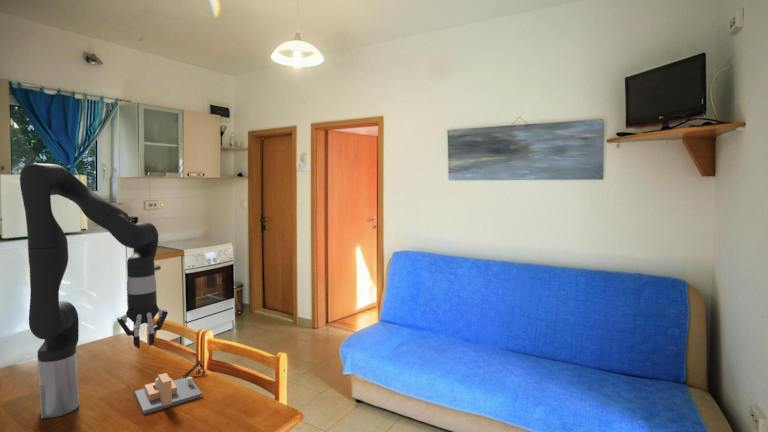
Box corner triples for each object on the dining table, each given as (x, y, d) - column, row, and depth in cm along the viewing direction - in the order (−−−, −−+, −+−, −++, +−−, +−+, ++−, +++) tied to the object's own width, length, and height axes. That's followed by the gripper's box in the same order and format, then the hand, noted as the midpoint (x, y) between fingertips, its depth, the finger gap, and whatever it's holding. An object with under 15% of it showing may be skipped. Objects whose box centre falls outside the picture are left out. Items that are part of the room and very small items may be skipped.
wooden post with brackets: (207, 367, 158) (202, 358, 156) (189, 384, 152) (184, 375, 150) (204, 366, 159) (199, 357, 157) (186, 382, 153) (181, 373, 151)
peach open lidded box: (144, 390, 139) (143, 368, 138) (171, 383, 144) (170, 362, 143) (153, 409, 128) (152, 385, 128) (181, 400, 133) (181, 377, 133)
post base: (143, 414, 128) (142, 395, 127) (134, 394, 140) (134, 377, 139) (202, 396, 139) (201, 379, 138) (189, 379, 150) (189, 363, 150)
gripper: (116, 296, 118) (118, 356, 120) (170, 288, 127) (172, 344, 129) (112, 290, 124) (115, 347, 126) (164, 283, 133) (166, 337, 134)
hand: (144, 345), depth 127 cm, fingers closed
